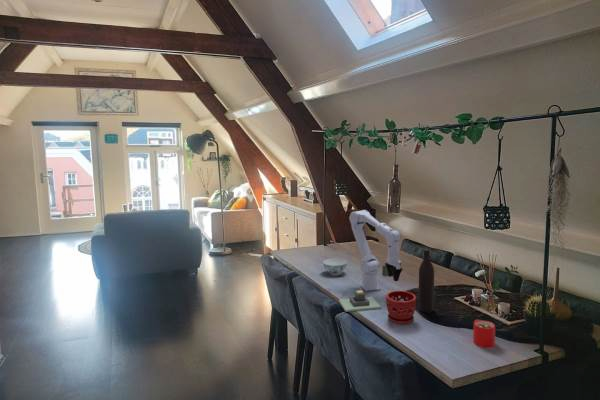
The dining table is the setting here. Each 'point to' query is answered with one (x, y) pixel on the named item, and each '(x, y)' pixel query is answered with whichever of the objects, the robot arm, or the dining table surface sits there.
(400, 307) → the plant pot
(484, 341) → the red cylinder
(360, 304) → the end holder
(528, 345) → the dining table surface
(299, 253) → the dining table surface
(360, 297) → the connector plug
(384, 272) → the handheld radio
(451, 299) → the dining table surface
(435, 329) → the dining table surface
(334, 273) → the chinaware
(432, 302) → the wine bottle
